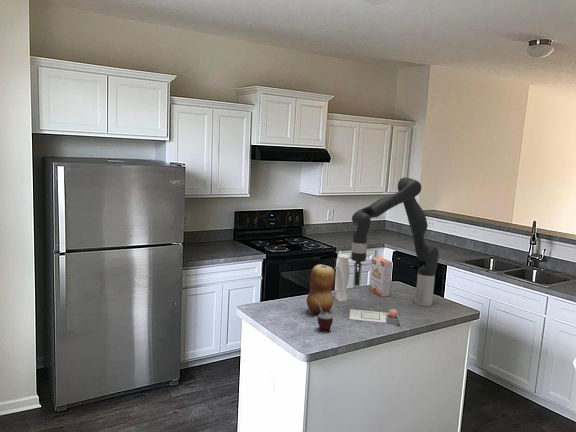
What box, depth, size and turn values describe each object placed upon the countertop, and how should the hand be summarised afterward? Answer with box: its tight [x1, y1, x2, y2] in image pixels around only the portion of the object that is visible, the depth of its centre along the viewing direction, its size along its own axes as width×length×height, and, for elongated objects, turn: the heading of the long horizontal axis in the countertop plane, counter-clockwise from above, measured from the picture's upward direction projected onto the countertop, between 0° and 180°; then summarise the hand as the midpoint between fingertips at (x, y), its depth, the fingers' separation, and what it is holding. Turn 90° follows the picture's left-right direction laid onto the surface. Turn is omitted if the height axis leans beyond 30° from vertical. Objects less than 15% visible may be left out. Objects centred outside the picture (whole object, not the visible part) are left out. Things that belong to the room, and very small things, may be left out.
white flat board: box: [348, 308, 401, 327], centre depth 240 cm, size 16×25×3 cm, turn 81°
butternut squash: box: [305, 264, 336, 315], centre depth 241 cm, size 14×13×25 cm
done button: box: [388, 308, 398, 318], centre depth 233 cm, size 4×4×3 cm
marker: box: [352, 267, 362, 290], centre depth 243 cm, size 4×4×10 cm
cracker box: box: [369, 255, 394, 298], centre depth 280 cm, size 14×6×21 cm, turn 21°
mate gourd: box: [314, 299, 334, 333], centre depth 220 cm, size 8×8×15 cm
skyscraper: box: [334, 250, 351, 302], centre depth 262 cm, size 8×8×28 cm
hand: (356, 283), depth 244 cm, fingers closed on marker, 3 cm apart
